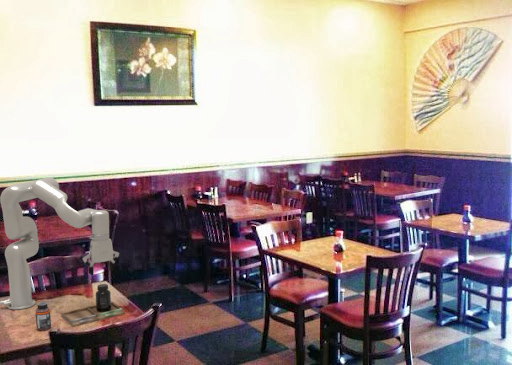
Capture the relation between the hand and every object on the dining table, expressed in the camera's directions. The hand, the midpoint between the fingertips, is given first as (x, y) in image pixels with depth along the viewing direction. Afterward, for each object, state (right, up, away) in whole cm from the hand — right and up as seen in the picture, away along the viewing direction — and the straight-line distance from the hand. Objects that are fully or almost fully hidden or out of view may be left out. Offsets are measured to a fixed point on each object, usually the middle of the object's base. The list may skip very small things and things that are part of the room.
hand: (101, 272), depth 252 cm
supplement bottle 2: (0, -18, +2) cm, 18 cm away
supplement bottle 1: (-20, -22, -17) cm, 34 cm away
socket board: (-3, -19, -2) cm, 20 cm away
